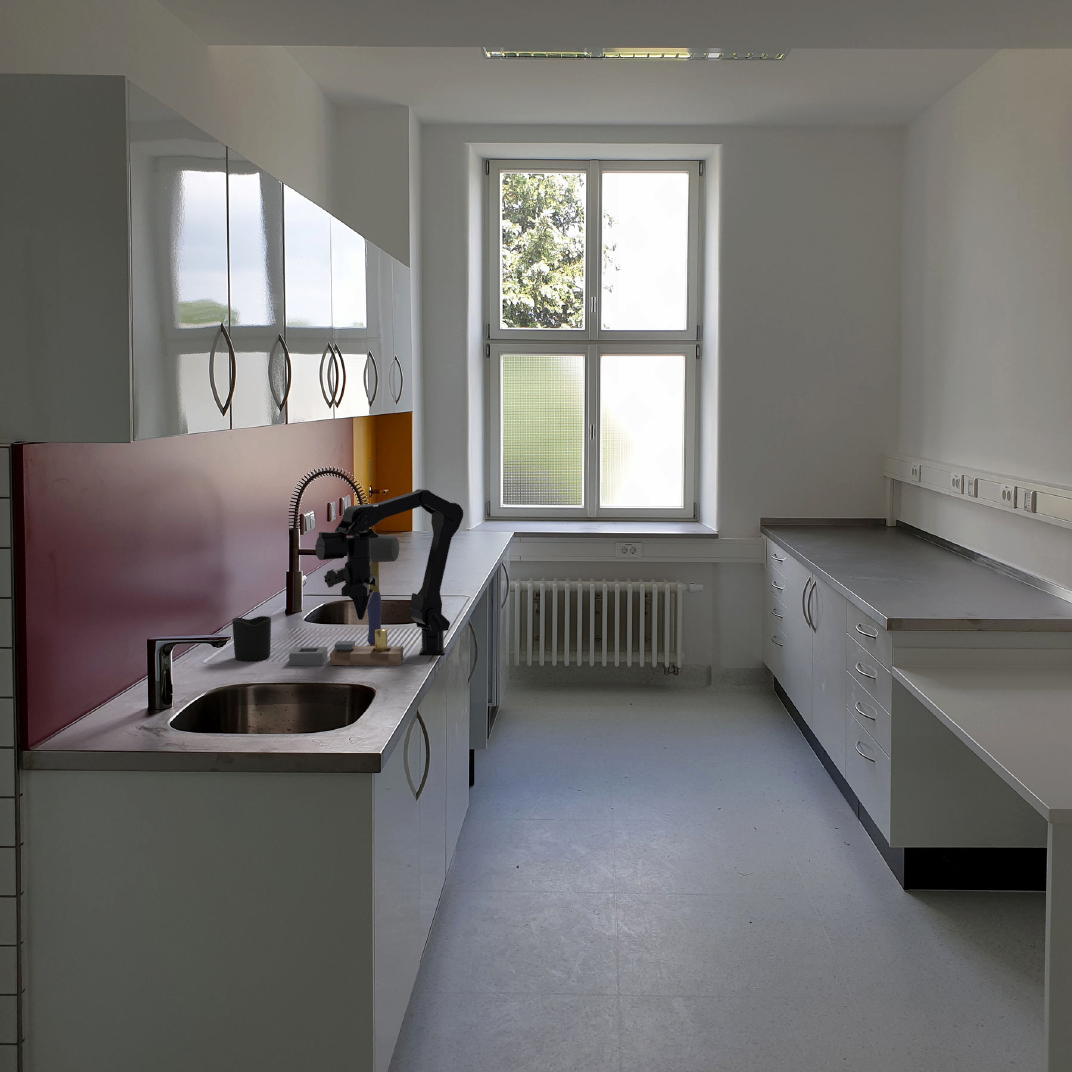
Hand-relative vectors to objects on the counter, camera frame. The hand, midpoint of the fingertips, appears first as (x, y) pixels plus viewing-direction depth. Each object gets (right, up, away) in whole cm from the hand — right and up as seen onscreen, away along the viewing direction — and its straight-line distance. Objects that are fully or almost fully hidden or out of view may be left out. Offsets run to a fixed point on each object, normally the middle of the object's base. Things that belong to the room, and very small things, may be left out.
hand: (360, 619), depth 263 cm
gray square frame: (-13, -11, 0) cm, 17 cm away
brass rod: (+5, -11, +1) cm, 12 cm away
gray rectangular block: (-4, -10, +1) cm, 11 cm away
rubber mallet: (0, -9, +21) cm, 23 cm away
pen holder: (-28, -10, +5) cm, 30 cm away
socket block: (+1, -11, +1) cm, 11 cm away
